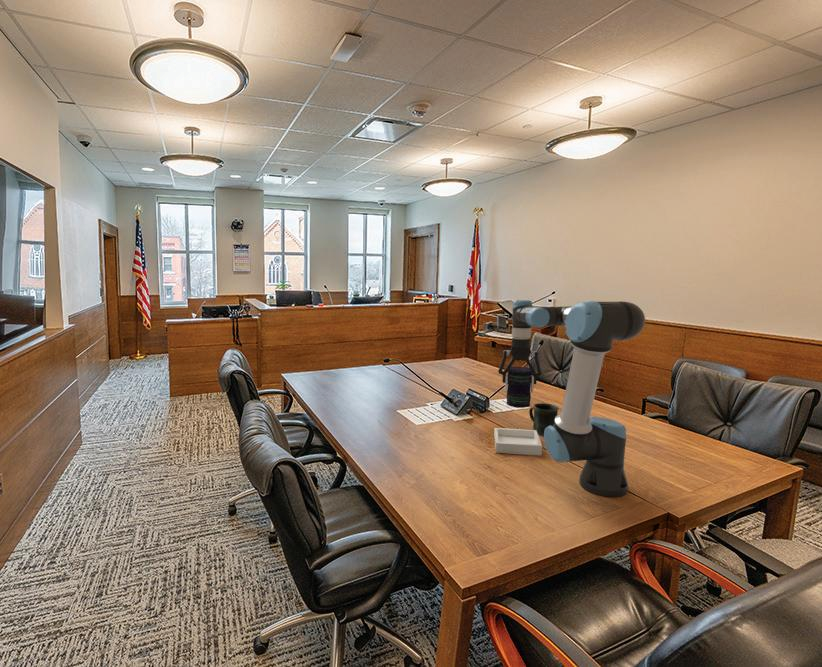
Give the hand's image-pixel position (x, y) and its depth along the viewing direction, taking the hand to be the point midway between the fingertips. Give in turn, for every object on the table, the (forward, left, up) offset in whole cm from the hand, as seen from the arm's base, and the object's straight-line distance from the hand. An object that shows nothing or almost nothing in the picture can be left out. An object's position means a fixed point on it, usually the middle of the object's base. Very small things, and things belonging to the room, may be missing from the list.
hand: (518, 391), depth 180 cm
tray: (0, 0, -24) cm, 24 cm away
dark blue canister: (0, 0, -6) cm, 6 cm away
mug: (+20, -13, -24) cm, 34 cm away
